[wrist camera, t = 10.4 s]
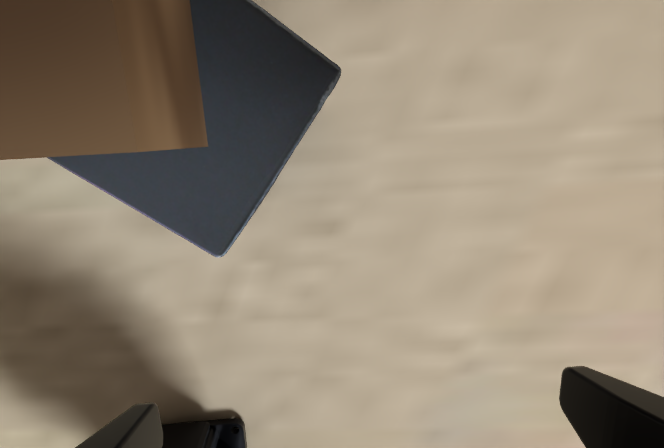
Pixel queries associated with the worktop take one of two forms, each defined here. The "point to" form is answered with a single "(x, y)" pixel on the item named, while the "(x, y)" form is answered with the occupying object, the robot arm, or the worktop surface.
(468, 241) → the worktop surface
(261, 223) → the worktop surface
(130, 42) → the walnut block
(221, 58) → the small box
